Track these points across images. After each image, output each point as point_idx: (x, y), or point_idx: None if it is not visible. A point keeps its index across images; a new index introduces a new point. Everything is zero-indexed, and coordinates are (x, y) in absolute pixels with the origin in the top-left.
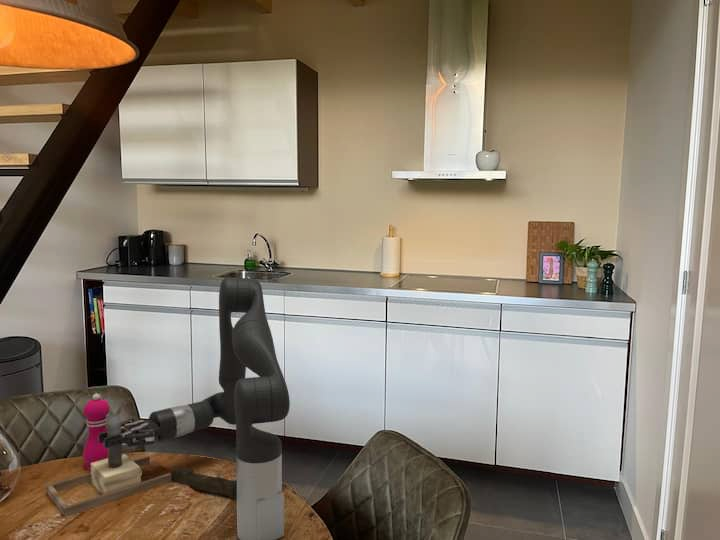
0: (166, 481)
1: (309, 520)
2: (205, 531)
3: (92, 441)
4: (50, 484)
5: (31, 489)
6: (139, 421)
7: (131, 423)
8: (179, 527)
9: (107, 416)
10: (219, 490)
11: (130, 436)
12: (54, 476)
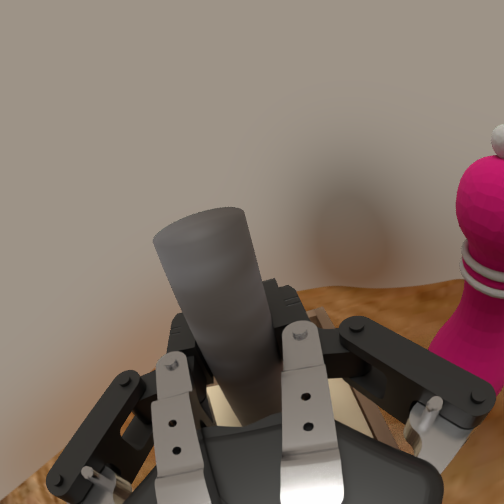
0: None
1: None
2: (7, 501)
3: (452, 318)
4: (322, 312)
5: (373, 301)
6: (304, 473)
7: (313, 407)
8: (36, 489)
9: (225, 208)
10: None
11: (113, 382)
12: (425, 320)
